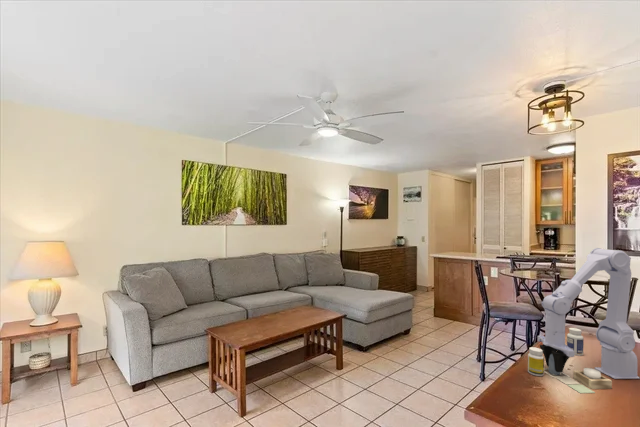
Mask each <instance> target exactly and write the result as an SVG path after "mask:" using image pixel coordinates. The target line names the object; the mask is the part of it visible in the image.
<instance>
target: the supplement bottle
mask: <svg viewBox="0 0 640 427" xmlns="http://www.w3.org/2000/svg"><path fill="white" fill-rule="evenodd" d="M528 352H529V353H528V354H527V372H528V374H530V375H533V376H537V377H543V376H544V375H545V372H544V371H545V370H544V368H545V365H544V364H545V357H544V354H543V350H542V349H541V348H540V347H536V346H535V347H534V346H533V347H532V346H531V347H529V349H528Z"/></svg>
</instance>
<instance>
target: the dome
mask: <svg viewBox="0 0 640 427" xmlns="http://www.w3.org/2000/svg"><path fill="white" fill-rule="evenodd" d="M583 371H584V375H585V376H587V377H588V378H590V379H601V375H602V372H600V371H598V370H596V369H595V368H591V367H583Z"/></svg>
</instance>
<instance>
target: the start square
mask: <svg viewBox="0 0 640 427" xmlns="http://www.w3.org/2000/svg"><path fill="white" fill-rule="evenodd" d="M546 370H547V371H549V367H547V368H545V367H544V374H547V375H548V376H550V377H551V378H555V377H570V378H571V376H570V375H568V374H567V373H565V372H560V374H563V375H553V374H550V373H549V372H547V371H546ZM555 379H556V378H555Z"/></svg>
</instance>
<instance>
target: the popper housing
mask: <svg viewBox="0 0 640 427" xmlns="http://www.w3.org/2000/svg"><path fill="white" fill-rule="evenodd" d="M572 373H573V374H572V375H573V378H572V379H573V380H575V381H577V382H578V381H579V382H578V383H580V384H582V385H583V386H585V387H587V388H589V389H590V390H601V389H602V390H605V389H606V390H608V389H609V390H610V389H613V380H612V379H610V378H608V377H607V376H604V375H602V374H601V379H590V378H588V377H587V376H585V375H584V370H573V372H572Z"/></svg>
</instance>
